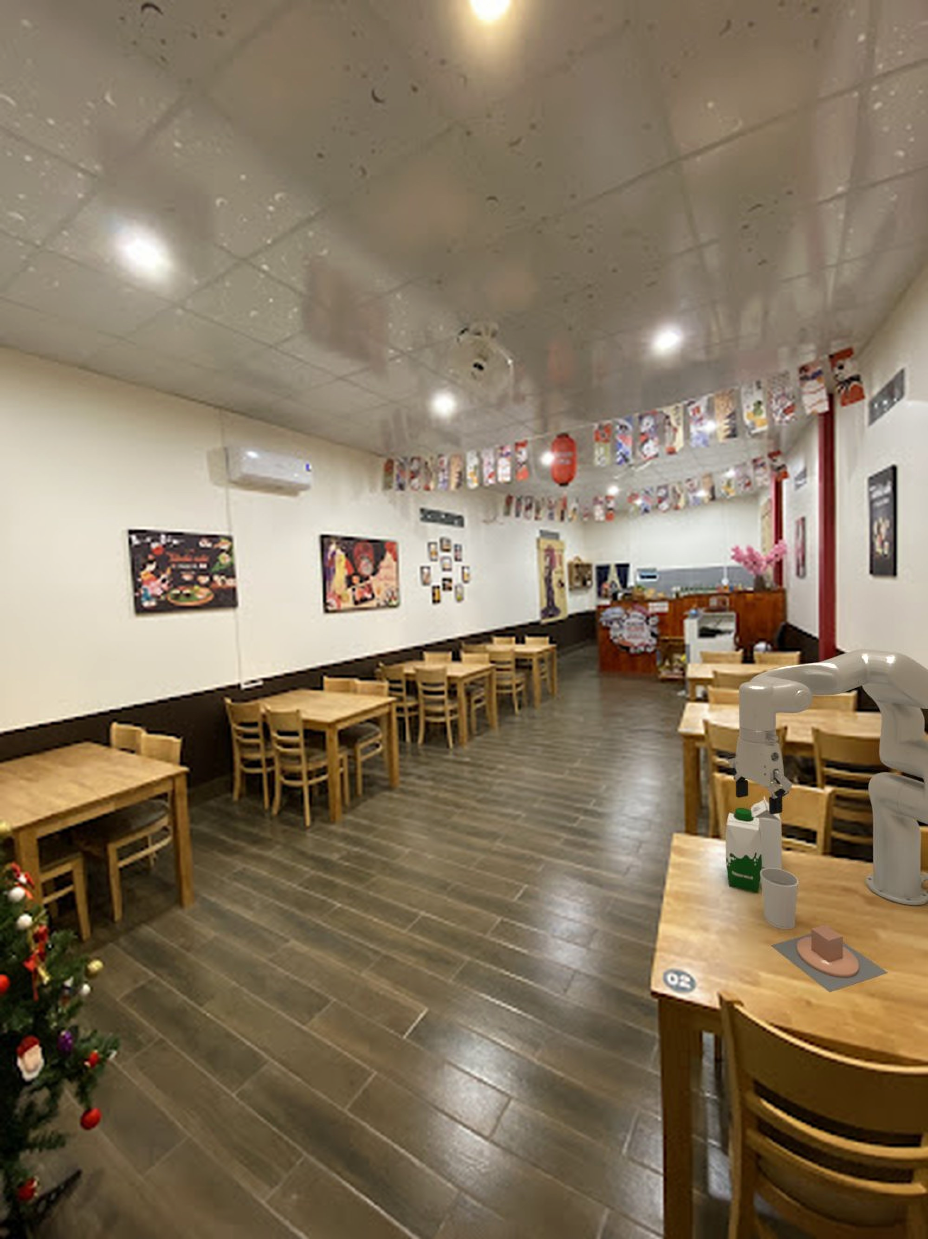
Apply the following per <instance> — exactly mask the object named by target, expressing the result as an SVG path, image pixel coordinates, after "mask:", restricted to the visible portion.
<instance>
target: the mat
mask: <svg viewBox="0 0 928 1239" xmlns="http://www.w3.org/2000/svg"><path fill="white" fill-rule="evenodd" d="M805 937H811V933H808V934H805V935H801V936H798V937H795V938H791V939H788V940H784V941H781V942H777V943H775V944H774V943H773V944H771V945H770V946H771V947H772V948H774V949H775V950H776V951H777V952H778V953H780V954H781V955H782V956H783V957H785V958H786V959H787V960H788V961H790V963H792V964H793V965H795V966H796V967H797V968H798V969H800V971H802V972H803V973H805V974H806V975H807V976H808V977H810V978H811V979H812V980H814V981H815V982H816V983H818V984H819V985H820V987H822V988H824V989H825V990H826V991H828V992H829V993H832V992H835V991H837V990H841V989H843V988H846V987H849V986H853V985H855V984H858V983H861V982H864V981H867V980H871V979H873V978H877V977H879V976H882V975H883V976H884V975H886V974H888V973H889V972H888V971H886V970H885V969H884V968H882V967H881V966H879V965H878V964H876V963H875V962H873V961H872V960H870V959H869V958H867V957H866V956H864V955H863V954H862V953H860V952H858V951H857V950H855V949H854V948H853V947H851V946H849V945H848V944H847V943H845V942H844V941H843V947H845V948H846V949H848V950H849V951H850V952H851V953H852V954H853V955H854V956H855V957H856V959H857V960H858V964H859V970H858V973H857V974H856V975H855V976H853V977H848V978H840V977H834V976H830V975H827V974H824V973H822V972H819V971H817V970H815V969H814V968H812V967H810V966H809V965H808V964H806V963H805V962H804V961H803V960H802V959H801V958H800V956H799V954H798V952H797V943H798V941H799V940H800V939H802V938H805Z"/></svg>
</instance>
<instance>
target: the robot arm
mask: <svg viewBox="0 0 928 1239" xmlns="http://www.w3.org/2000/svg"><path fill="white" fill-rule="evenodd" d="M861 686H862V689H863V690H864V691H865V692H866V694H867V695H868V696H869V697H870V698H871V699H872V700H873V702H875V704H876V705H877V708H879V711H880V714H881V716H880V717H881V724H880V726H881V727H880V736H879V747H878V748H879V759H880V761H881V763H882V764H883V765H885V766H886V767H888V768H891V769H892V770H893V769H894V770H896V771H899V772H902V773H906V774H909V775H912V776H915V777H918V778H921V779H923V781H919V780H917V779H914V778H911V777H907V776H904V775H901V774H899V773H893V772H886V771H885V772H883V771H882V772H880V773H876V774H874V775H873V776H872V777H871V779H870V780H869V783H868V795H869V800H870V803H871V807H872V819H873V824H872V827H873V829H872V830H873V832H872V835H873V836H872V838H873V841H872V844H873V845H872V848H873V849H872V850H873V852H872V856H873V858H872V860H873V861H872V862H873V864H872V867H873V868H872V870H873V872H872V874H868V875H867V876H866V878H865V884H866V886H867V887H868V889H870V890H871V891H872V892H873V893H874V894H876V895H878V897H882V898H883V899H886V900H889V901H891V902H894V903H898V904H903V905H908V906H909V905H910V906H921V905H925V904H926V903H927V902H928V891H926V889H924V888H923V887H922V884H924V882H928V873H927V872H926V871H925V872H921V850H922V848H921V845H922V844H921V843H922V842H921V841H922V833H921V828H920V824H919V823H918V822H920V823H924V824H926V825H928V740H927V739H926V738H925V716H924V714H923V711H922V709H925V710H926V709H928V669H927V667H925V666H923V665H922V664H920V663H919V662H917V661H916V660H915V659H913V658H911V657H910V656H907V655H905V654H903V653H899V652H897V651H896V652H895V651H886V650H885V651H884V650H878V649H877V650H875V649H865V648H863V649H854V650H851V651H848V652H845V653H842V654H840V655H837V656H834V657H832V658H829V659H825V660H823V661H819V662H812V663H803V664H798V665H797V664H796V665H789V666H783V667H778V668H777V667H776V668H773V669H770V670H767V671H764V672H760V673H759V674H757V675H755V676H754V677H752V678H751V679H750V680H749V681H747V682H743V683H741V684H740V685H739V687H738V712H739V713H738V715H739V718H738V719H739V720H738V722H739V725H738V726H739V728H738V730H739V731H738V732H739V733H738V734H739V736H738V737H737V741H736V748H735V757H733V758H728V759H727V762H728V765H729V767H730V772H731V774H732V776H733V780H734V782H735V797H736V798H737V799H738V798H745V797H748V796H749V781H750V782H753V783H755V784H757V785H759V786H761V787H765V788H766V789H767V791H768V792H769V794H770V796H769V797H768V803H769V813H770V814H772V815H773V814H778V813H779V814H782V813H783V798H784V797H786V795H787V794H789V793H790V791H791V789H792V787H793V783H792V781H790V780H789V778H787V777H786V776H785V773H784V772H785V771H784V763H783V754H782V750H781V746H780V744H779V743H778V740H779V736H778V735H777V714H778V713H781V714H784V713H785V714H798V713H802V712H804V711H806V710H807V709H808V708H810V706H811V705H812V703H813V699H814V697H813V696H836V695H841V694H843V693H846V692H847V691H850V690H854V689H855V688H858V687H861ZM774 788H775V789H774Z"/></svg>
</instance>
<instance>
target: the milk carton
mask: <svg viewBox="0 0 928 1239" xmlns="http://www.w3.org/2000/svg"><path fill="white" fill-rule="evenodd" d="M750 811H751V813H752V817H754V818H759V820H760V826H761V836H762V869H764V868H778V869H782V870H783V862H782V861H783V860H782V859H783V857H782V855H783V853H782V844H783V843H782V819H781V815H780V813H778V814H773V815H772V814H770V813H769V801H767V800H766V797H765V796H763V800H761V801H759V802H757V803H754V804H753V805H752V806H751V807H750Z"/></svg>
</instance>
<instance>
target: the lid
mask: <svg viewBox="0 0 928 1239" xmlns="http://www.w3.org/2000/svg"><path fill="white" fill-rule="evenodd" d="M810 930H811V931H810V932H811V933H810V934H811V937H805V938H802V939H800V940H799V941H798V943H797V952H798V954H799V956H800V958H801V959H802V960H803V961H804V962H805V963H806V964H808V965H809V966H810V967H812V968H814V969H815V970H817V971H819V972H822V973H824V974H827V975H830V976H834V977H840V978H848V977H853V976H855V975H856V974H857V973H858V970H859V964H858V960H857V959H856V957H855V956H854V955H853V954H852V953H851V952H850V951H849V950H848V949H846V948H845V947H843V942H844V937H843V935H842V934H840V933H839V932H837V931H836V930H834V929H832V928H831V927H829V926H828V925H826V924H823V925H820V926H816V927H812V928H811V929H810Z"/></svg>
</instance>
